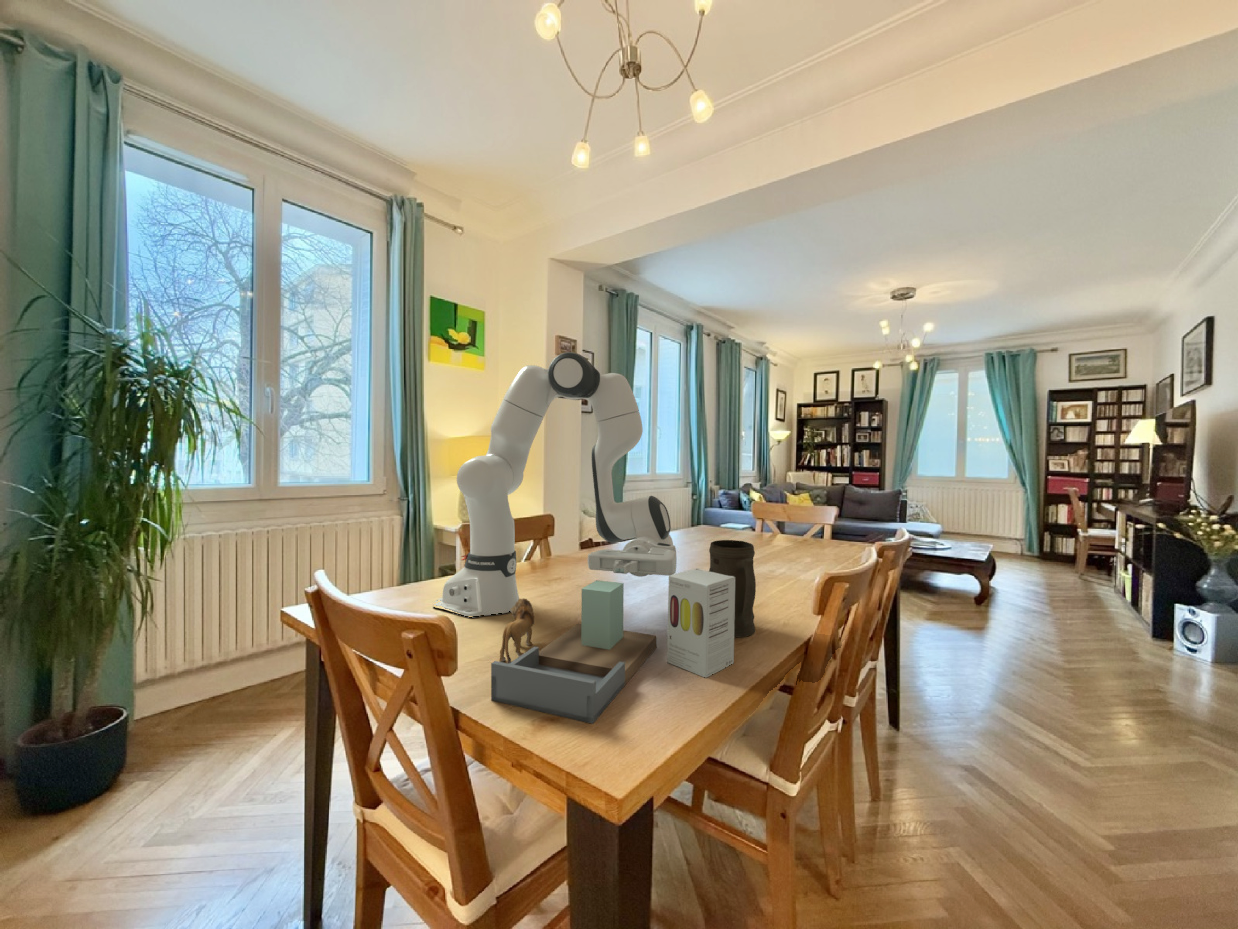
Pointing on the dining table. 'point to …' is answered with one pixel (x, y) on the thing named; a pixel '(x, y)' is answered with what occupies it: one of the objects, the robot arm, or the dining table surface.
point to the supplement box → (701, 621)
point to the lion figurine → (518, 628)
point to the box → (554, 687)
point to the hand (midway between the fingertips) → (619, 569)
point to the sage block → (602, 614)
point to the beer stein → (737, 579)
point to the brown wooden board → (598, 653)
